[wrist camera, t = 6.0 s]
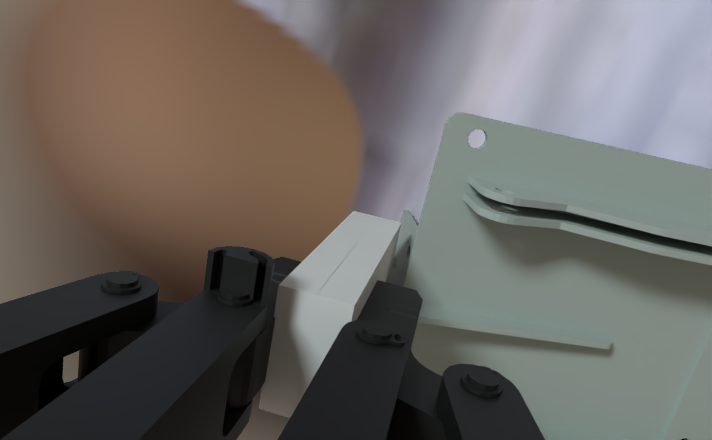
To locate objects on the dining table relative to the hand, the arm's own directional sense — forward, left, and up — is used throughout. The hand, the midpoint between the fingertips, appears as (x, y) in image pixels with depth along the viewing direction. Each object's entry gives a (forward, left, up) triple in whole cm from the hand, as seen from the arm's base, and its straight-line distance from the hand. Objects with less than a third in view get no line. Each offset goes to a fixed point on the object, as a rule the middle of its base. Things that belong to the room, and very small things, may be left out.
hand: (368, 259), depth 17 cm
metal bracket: (+1, +7, -3) cm, 8 cm away
